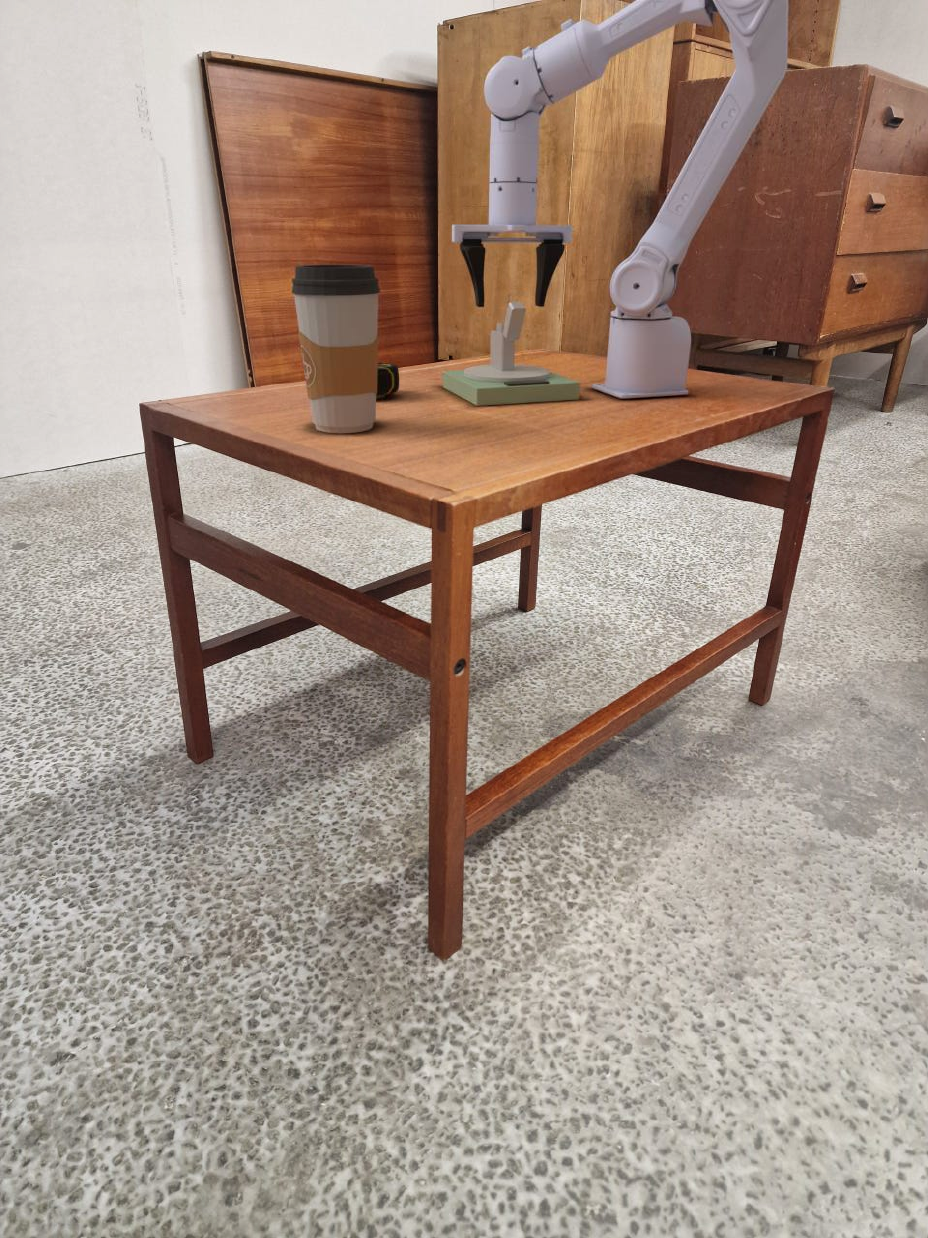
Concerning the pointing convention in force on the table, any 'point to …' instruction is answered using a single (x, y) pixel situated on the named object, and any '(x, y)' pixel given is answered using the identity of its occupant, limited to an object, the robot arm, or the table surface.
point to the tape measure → (387, 379)
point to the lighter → (506, 338)
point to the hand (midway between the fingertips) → (510, 306)
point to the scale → (509, 385)
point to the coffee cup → (339, 343)
